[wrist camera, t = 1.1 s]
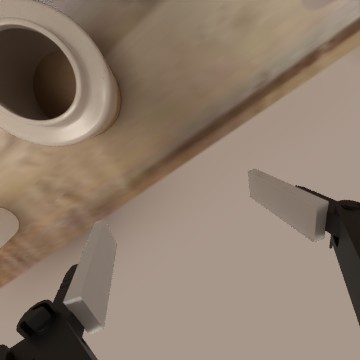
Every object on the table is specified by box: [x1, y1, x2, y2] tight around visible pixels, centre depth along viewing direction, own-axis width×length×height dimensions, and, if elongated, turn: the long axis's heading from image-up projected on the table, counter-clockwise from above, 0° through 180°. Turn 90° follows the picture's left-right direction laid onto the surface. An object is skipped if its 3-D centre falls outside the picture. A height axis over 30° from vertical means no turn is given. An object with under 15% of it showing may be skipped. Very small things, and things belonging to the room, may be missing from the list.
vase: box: [0, 0, 121, 146], centre depth 25 cm, size 15×15×17 cm
